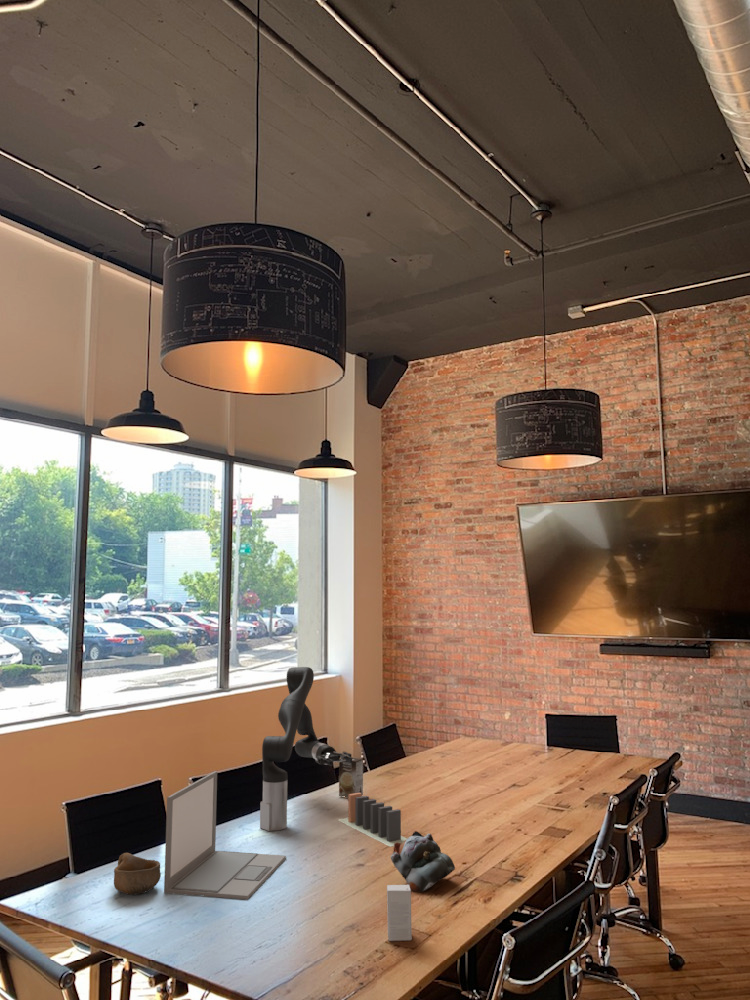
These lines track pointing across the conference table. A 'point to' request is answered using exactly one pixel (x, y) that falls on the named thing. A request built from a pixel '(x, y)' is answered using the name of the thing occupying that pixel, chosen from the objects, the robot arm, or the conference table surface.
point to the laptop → (207, 849)
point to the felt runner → (368, 832)
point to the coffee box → (351, 777)
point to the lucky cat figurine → (421, 861)
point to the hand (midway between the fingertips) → (341, 761)
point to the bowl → (136, 874)
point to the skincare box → (399, 912)
